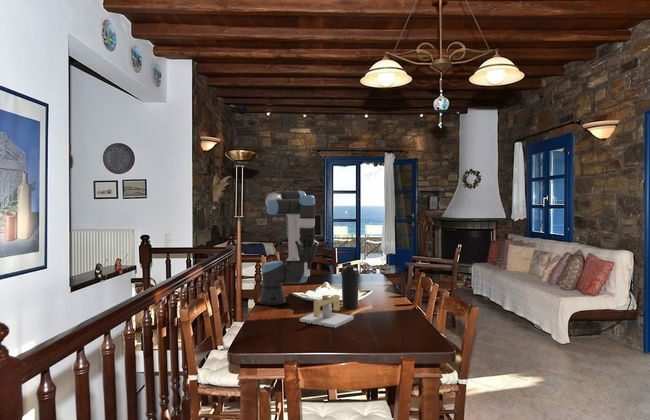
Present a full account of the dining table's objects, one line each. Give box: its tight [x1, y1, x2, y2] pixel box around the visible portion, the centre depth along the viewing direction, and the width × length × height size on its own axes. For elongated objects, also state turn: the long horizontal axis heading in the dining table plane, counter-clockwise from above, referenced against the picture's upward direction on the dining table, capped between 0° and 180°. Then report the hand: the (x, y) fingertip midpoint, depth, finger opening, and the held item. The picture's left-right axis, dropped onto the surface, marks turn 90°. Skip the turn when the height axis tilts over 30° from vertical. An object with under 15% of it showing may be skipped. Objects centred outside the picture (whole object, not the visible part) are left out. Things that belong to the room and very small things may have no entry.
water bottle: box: [340, 264, 360, 310], centre depth 243 cm, size 10×10×23 cm
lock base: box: [299, 303, 355, 329], centre depth 217 cm, size 20×18×8 cm
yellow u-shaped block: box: [313, 294, 341, 318], centre depth 216 cm, size 18×5×8 cm, turn 144°
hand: (307, 275), depth 214 cm, fingers closed
